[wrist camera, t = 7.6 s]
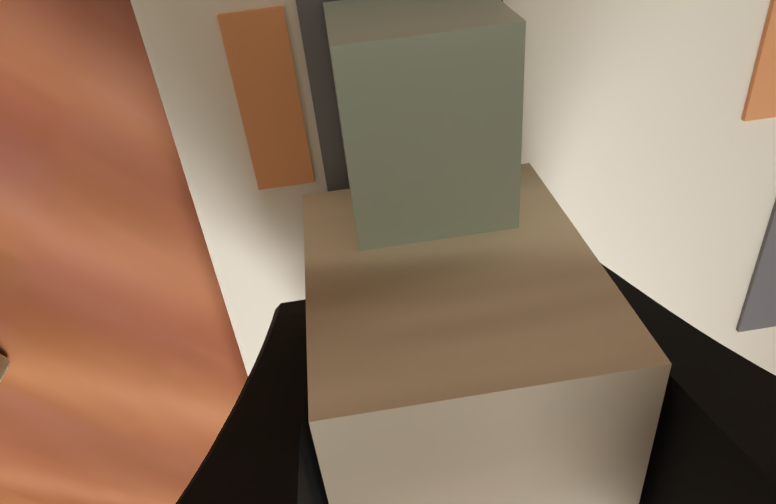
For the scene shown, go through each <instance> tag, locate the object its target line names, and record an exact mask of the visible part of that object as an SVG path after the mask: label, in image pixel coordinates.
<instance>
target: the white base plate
mask: <svg viewBox="0 0 776 504" xmlns="http://www.w3.org/2000/svg"><path fill="white" fill-rule="evenodd" d="M130 1H131V4H132V7H133V11H134V14H135V17H136V20H137V23H138V27H139V30H140V33H141V36H142V39H143V42H144V46H145V49H146V52H147V55H148V58H149V62H150V65H151V68H152V71H153V74H154V78H155V81H156V84H157V87H158V90H159V94H160V97H161V100H162V103H163V106H164V110H165V113H166V116H167V119H168V122H169V126H170V129H171V132H172V135H173V138H174V142H175V145H176V148H177V151H178V154H179V158H180V161H181V164H182V167H183V170H184V174H185V177H186V180H187V183H188V186H189V190H190V193H191V196H192V199H193V202H194V205H195V209H196V212H197V215H198V218H199V221H200V225H201V228H202V231H203V234H204V237H205V241H206V244H207V247H208V250H209V253H210V257H211V260H212V263H213V266H214V269H215V273H216V276H217V279H218V282H219V285H220V289H221V292H222V295H223V298H224V301H225V305H226V308H227V311H228V314H229V317H230V321H231V324H232V327H233V330H234V333H235V337H236V340H237V343H238V346H239V349H240V352H241V356H242V359H243V362H244V365H245V368H246V372H247V375H248V376H249V374H250V372H251V370H252V368H253V366H254V364H255V361H256V359H257V357H258V354H259V352H260V350H261V347H262V345H263V342H264V340H265V337H266V335H267V332H268V329H269V327H270V324H271V321H272V318H273V315H274V312H275V309H276V308H277V307H278V306H279V305H280V303H285V302H291V301H298V300H305V260H304V220H303V195H308V194H315V193H322V192H329V191H336V190H343V189H350V187H349V180H348V174H347V167H346V160H345V153H344V146H343V139H342V132H341V125H340V118H339V111H338V104H337V97H336V91H335V84H334V77H333V70H332V63H331V56H330V49H329V42H328V35H327V28H326V21H325V14H324V8H323V2H330V1H338V0H130ZM501 1H502V2H504V3H505V4H506V5H507V6H508V7H510V8H511V9H512V10H513V11H514V12H516V13H517V14H518V15H519V16H520V17H522V18H523V19H524V20H525V21H526V35H525V64H524V93H523V123H522V152H521V164H526V163H530V164H531V166H532V167H533V168H534V170H535V171H536V173H537V174H538V176H539V177H540V178H541V180H542V181H543V183H544V184H545V185H546V187H547V188H548V190H549V191H550V193H551V194H552V195H553V197H554V198H555V200H556V201H557V202H558V204H559V205H560V207H561V208H562V209H563V211H564V212H565V214H566V215H567V217H568V218H569V219H570V221H571V222H572V224H573V225H574V226H575V228H576V229H577V231H578V232H579V233H580V235H581V236H582V238H583V239H584V241H585V242H586V243H587V245H588V246H589V248H590V249H591V250H592V252H593V253H594V255H595V256H596V257H597V259H598V260H599V262H600V263H601V264H603V265H604V266H606V267H607V268H609V269H610V270H611V271H613V272H614V273H616V274H617V275H619V276H620V277H621V278H623V279H624V280H626V281H627V282H629V283H630V284H631V285H633V286H634V287H636V288H637V289H639V290H640V291H642V292H643V293H644V294H646V295H647V296H649V297H650V298H652V299H653V300H654V301H656V302H657V303H659V304H660V305H662V306H663V307H665V308H666V309H668V310H669V311H671V312H672V313H674V314H675V315H677V316H678V317H680V318H681V319H683V320H684V321H686V322H687V323H689V324H690V325H692V326H693V327H695V328H697V329H698V330H700V331H701V332H703V333H704V334H706V335H708V336H709V337H711V338H712V339H714V340H716V341H717V342H719V343H720V344H722V345H724V346H725V347H727V348H729V349H731V350H732V351H734V352H736V353H737V354H739V355H741V356H742V357H744V358H746V359H747V360H749V361H751V362H753V363H754V364H756V365H758V366H759V367H761V368H763V369H765V370H766V371H768V372H770V373H772V374H774V375H776V0H501Z"/></svg>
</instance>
